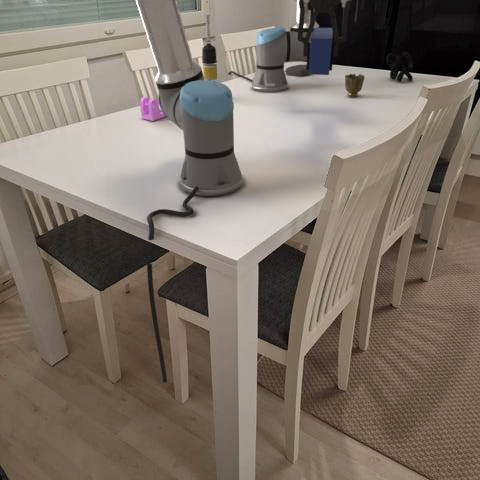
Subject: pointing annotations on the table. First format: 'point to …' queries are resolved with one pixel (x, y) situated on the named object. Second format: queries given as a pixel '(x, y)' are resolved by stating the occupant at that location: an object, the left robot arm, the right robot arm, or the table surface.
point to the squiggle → (399, 66)
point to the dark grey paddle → (297, 70)
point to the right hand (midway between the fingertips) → (333, 22)
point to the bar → (320, 51)
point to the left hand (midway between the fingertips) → (319, 69)
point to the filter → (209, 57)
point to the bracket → (150, 109)
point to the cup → (353, 84)
